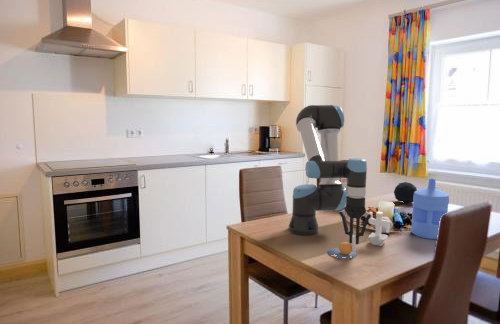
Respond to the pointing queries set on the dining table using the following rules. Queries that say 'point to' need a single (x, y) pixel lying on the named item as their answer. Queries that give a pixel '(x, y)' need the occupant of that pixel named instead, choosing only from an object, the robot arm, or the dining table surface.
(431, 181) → the water jug
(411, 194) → the decorative orb
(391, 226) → the die
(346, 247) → the ball
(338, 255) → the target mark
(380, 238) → the figurine
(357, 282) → the dining table surface
